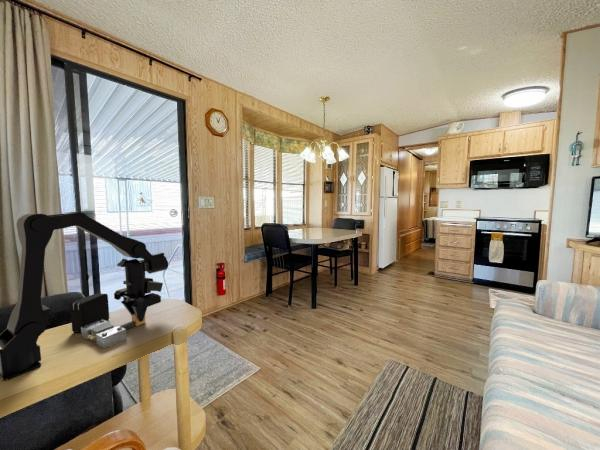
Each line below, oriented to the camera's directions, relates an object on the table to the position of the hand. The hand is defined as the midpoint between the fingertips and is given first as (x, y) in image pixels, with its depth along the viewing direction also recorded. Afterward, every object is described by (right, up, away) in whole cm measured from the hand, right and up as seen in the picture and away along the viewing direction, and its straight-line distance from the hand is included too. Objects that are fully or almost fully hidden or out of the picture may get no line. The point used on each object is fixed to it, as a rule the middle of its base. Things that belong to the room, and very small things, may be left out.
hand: (138, 320), depth 88 cm
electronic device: (-16, -2, -1) cm, 16 cm away
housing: (-5, -2, -9) cm, 11 cm away
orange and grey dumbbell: (-3, -2, -5) cm, 6 cm away
